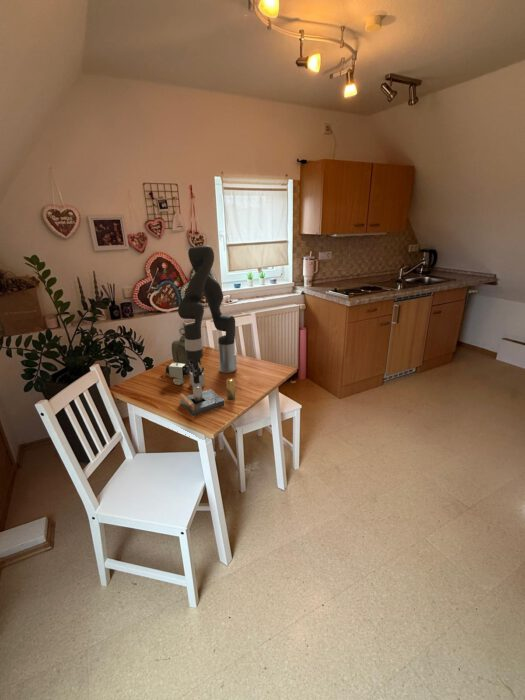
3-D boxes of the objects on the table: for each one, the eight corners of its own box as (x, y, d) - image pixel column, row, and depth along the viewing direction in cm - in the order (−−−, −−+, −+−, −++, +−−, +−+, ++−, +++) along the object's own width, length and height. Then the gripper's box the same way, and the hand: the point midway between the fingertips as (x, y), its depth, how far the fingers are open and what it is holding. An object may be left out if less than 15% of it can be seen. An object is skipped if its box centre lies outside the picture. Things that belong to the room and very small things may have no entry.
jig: (210, 394, 162) (210, 385, 161) (224, 405, 152) (224, 396, 150) (180, 403, 154) (179, 394, 152) (193, 416, 143) (192, 406, 141)
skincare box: (200, 381, 176) (199, 369, 173) (205, 386, 171) (204, 373, 168) (190, 384, 173) (189, 372, 170) (194, 388, 168) (193, 376, 165)
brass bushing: (232, 395, 161) (231, 377, 157) (236, 399, 158) (236, 380, 154) (225, 398, 158) (224, 379, 155) (229, 401, 156) (229, 382, 152)
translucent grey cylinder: (200, 402, 154) (199, 384, 151) (204, 406, 151) (203, 387, 148) (192, 405, 152) (191, 386, 148) (196, 409, 149) (194, 389, 145)
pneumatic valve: (187, 386, 170) (185, 365, 166) (167, 384, 172) (164, 363, 168) (191, 381, 175) (189, 361, 171) (171, 380, 178) (169, 359, 173)
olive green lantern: (200, 369, 192) (197, 328, 183) (189, 374, 185) (185, 332, 176) (184, 363, 199) (180, 324, 191) (172, 368, 193) (168, 328, 184)
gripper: (208, 349, 138) (210, 386, 144) (195, 341, 148) (197, 375, 154) (192, 353, 134) (195, 390, 140) (180, 344, 144) (183, 379, 150)
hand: (196, 382), depth 147 cm, fingers closed
